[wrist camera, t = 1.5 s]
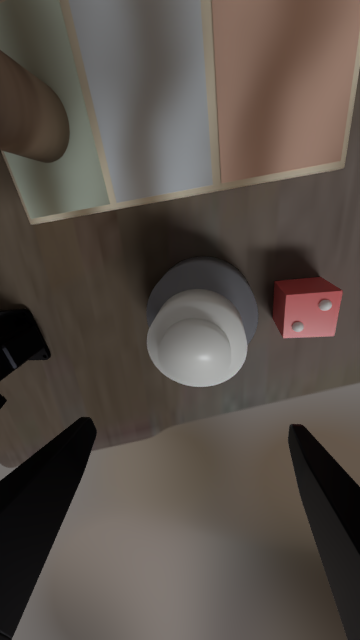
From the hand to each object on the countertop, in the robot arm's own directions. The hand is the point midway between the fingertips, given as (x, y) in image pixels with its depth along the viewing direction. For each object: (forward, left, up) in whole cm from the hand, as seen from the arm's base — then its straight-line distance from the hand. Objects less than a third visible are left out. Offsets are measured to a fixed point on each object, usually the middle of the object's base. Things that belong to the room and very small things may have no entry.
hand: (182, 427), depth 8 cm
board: (-2, +15, -13) cm, 20 cm away
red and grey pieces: (+3, 0, -13) cm, 13 cm away
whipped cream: (0, 0, -8) cm, 8 cm away
